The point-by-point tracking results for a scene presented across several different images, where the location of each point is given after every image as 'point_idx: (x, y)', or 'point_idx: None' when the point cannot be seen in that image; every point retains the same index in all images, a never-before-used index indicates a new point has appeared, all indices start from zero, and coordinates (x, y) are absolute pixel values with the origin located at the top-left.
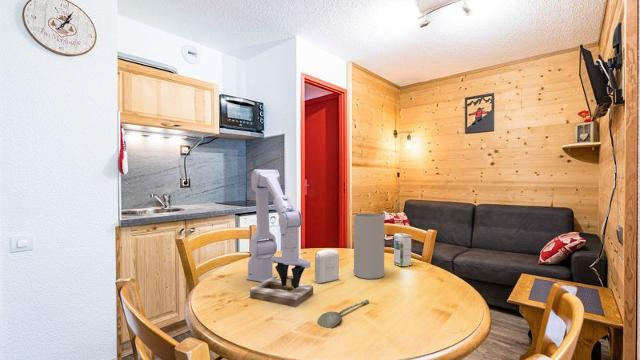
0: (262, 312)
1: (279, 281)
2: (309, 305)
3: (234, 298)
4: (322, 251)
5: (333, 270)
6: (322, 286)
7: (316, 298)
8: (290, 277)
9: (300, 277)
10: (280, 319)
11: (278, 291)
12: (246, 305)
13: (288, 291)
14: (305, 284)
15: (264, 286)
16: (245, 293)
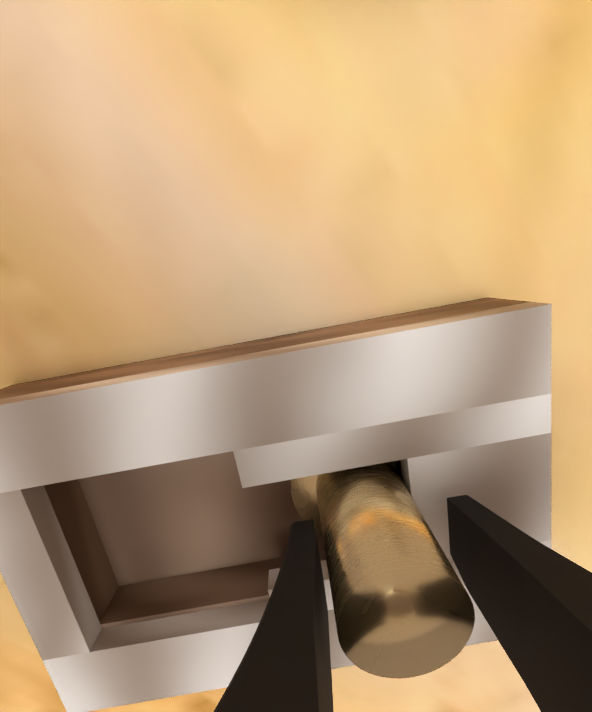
0: (362, 708)
1: (116, 436)
2: (570, 493)
3: (41, 690)
4: None
5: None
6: (466, 37)
7: (559, 361)
8: (410, 623)
9: (581, 577)
10: (508, 705)
11: (329, 625)
12: (205, 706)
13: None
14: (449, 333)
15: (72, 553)
16: (9, 604)
